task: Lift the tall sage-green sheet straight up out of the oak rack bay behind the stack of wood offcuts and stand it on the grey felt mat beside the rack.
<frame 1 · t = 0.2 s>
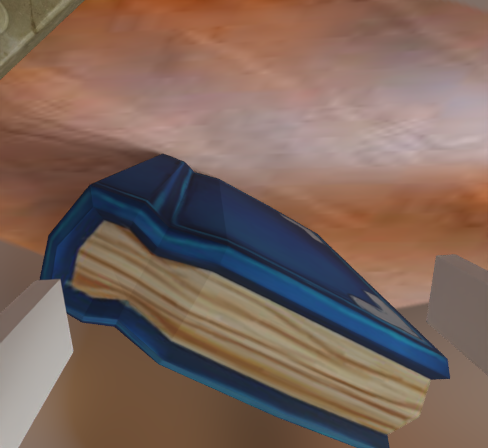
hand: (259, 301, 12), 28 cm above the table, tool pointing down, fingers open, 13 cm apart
book: (226, 215, 40), on the table
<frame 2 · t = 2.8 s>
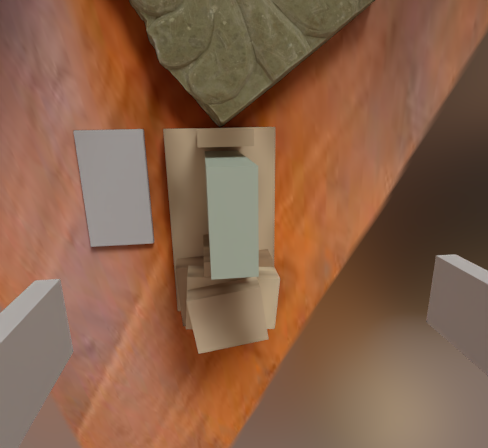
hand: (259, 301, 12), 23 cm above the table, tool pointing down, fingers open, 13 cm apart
felt mat: (117, 189, 33), on the table
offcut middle: (230, 290, 32), point 4 cm above the table, touching offcut bottom, offcut top
offcut bottom: (225, 281, 35), point 2 cm above the table, touching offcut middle, rack
offcut top: (227, 308, 30), point 7 cm above the table, touching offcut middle
tall sheet: (222, 188, 32), point 2 cm above the table, touching rack
rack: (222, 219, 35), on the table
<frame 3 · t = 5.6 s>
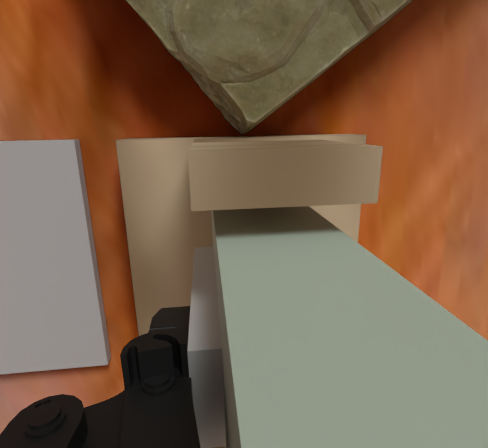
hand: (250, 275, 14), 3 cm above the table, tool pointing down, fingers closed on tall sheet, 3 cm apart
felt mat: (29, 262, 16), on the table
tall sheet: (247, 265, 15), point 2 cm above the table, touching gripper, rack
rack: (243, 312, 18), on the table
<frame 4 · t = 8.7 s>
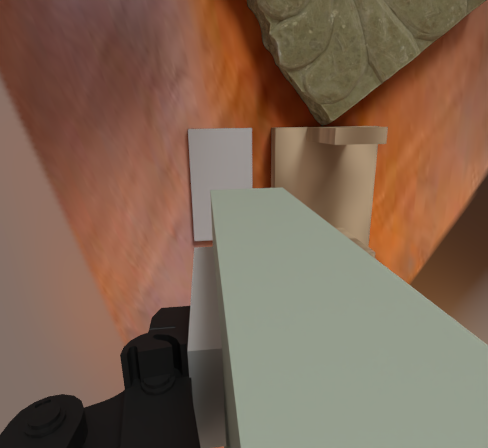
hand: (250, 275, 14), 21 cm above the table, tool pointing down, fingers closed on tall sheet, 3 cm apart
felt mat: (221, 185, 34), on the table
tall sheet: (247, 267, 15), point 20 cm above the table, touching gripper
rack: (317, 215, 36), on the table
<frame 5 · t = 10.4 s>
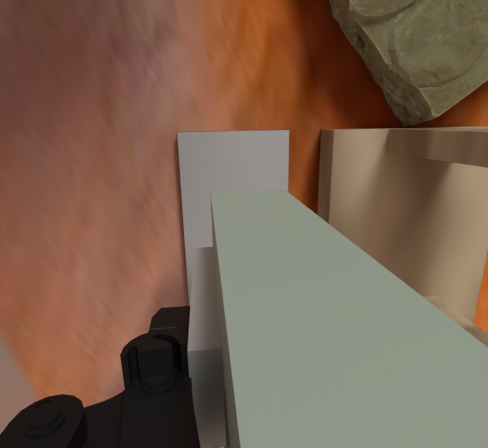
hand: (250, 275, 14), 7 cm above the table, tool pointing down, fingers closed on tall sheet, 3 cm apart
felt mat: (235, 226, 20), on the table
tall sheet: (247, 267, 15), point 6 cm above the table, touching gripper
rack: (388, 270, 22), on the table
when the fingers open (3 cm above the table, at t = 11.7 s): tall sheet stays where it is, resting on felt mat.
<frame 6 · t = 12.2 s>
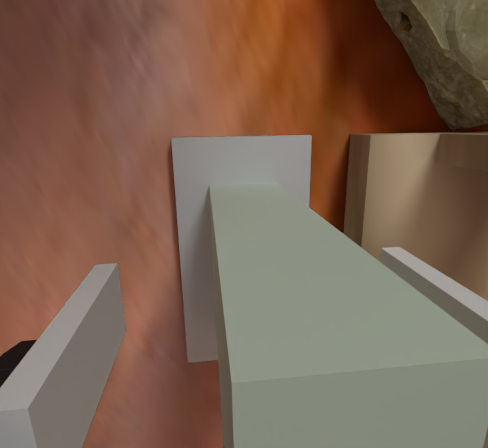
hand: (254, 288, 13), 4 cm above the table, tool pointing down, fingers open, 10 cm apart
felt mat: (243, 253, 17), on the table
tall sheet: (244, 258, 16), point 1 cm above the table, touching felt mat
rack: (426, 302, 19), on the table
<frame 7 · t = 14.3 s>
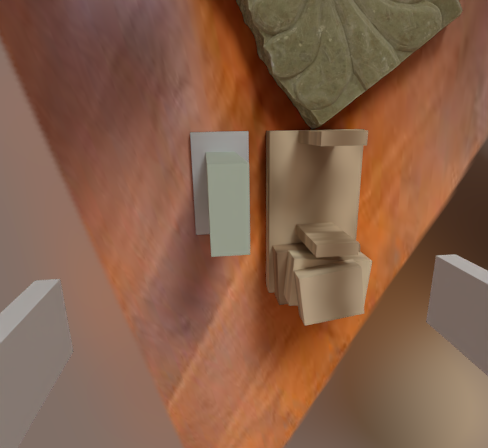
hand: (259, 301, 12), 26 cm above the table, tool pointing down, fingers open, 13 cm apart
felt mat: (221, 183, 37), on the table
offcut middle: (322, 273, 37), point 4 cm above the table, touching offcut bottom, offcut top
offcut bottom: (312, 265, 39), point 2 cm above the table, touching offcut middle, rack
offcut top: (325, 287, 34), point 7 cm above the table, touching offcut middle
tall sheet: (221, 185, 37), point 1 cm above the table, touching felt mat
rack: (308, 210, 39), on the table
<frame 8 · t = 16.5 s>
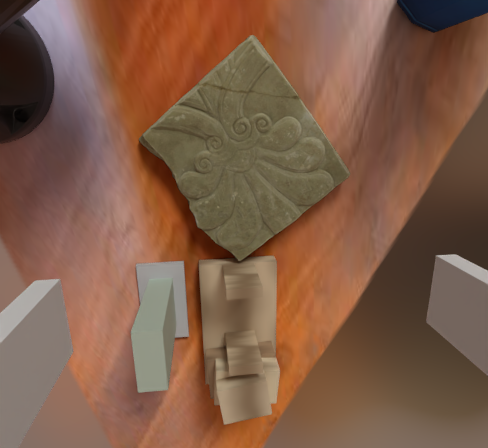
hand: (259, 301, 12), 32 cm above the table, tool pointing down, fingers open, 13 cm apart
felt mat: (163, 300, 46), on the table
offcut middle: (244, 374, 45), point 4 cm above the table, touching offcut bottom, offcut top
offcut bottom: (240, 363, 48), point 2 cm above the table, touching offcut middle, rack
offcut top: (243, 390, 43), point 7 cm above the table, touching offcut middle
tall sheet: (163, 302, 45), point 1 cm above the table, touching felt mat
rack: (238, 317, 48), on the table
decorative tile: (241, 158, 43), on the table
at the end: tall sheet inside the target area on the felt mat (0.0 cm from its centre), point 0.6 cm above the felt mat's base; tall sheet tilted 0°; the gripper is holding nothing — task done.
